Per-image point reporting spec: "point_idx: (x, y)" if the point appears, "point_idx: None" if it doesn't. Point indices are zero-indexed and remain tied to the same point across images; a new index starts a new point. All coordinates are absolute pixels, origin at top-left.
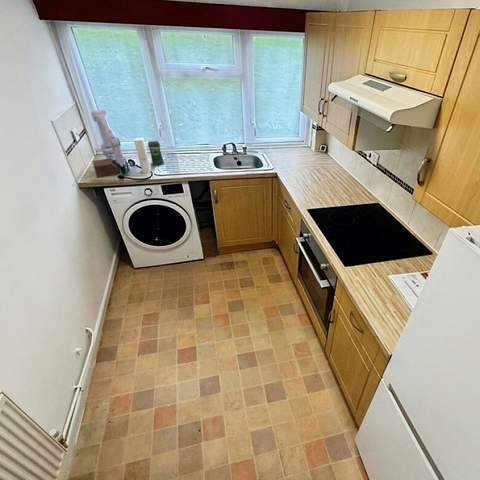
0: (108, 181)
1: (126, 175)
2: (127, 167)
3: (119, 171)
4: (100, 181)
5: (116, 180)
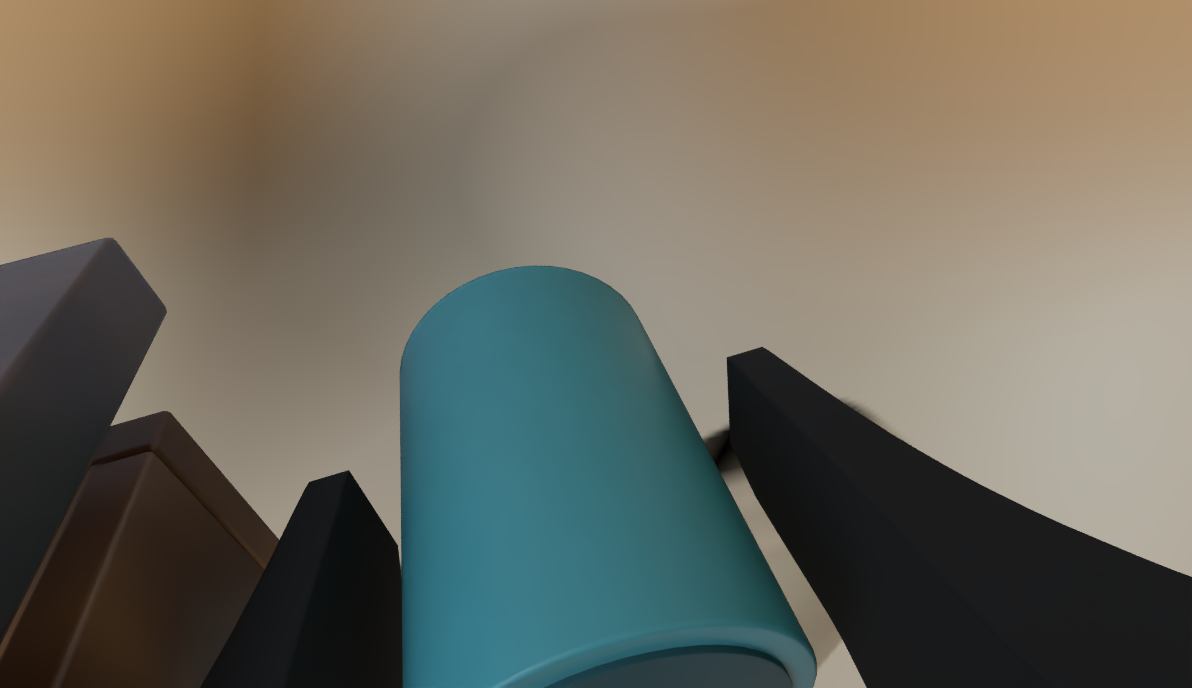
0: None
1: (618, 298)
2: (54, 484)
3: None
4: None
5: None
